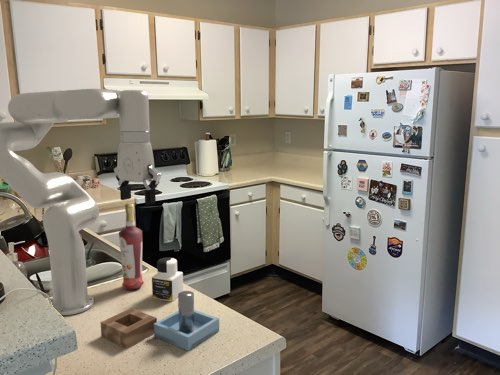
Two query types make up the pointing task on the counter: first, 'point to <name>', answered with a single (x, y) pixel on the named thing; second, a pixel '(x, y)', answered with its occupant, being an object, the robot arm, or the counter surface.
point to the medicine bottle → (167, 280)
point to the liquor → (131, 251)
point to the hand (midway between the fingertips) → (137, 201)
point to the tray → (170, 333)
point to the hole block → (128, 327)
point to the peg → (186, 311)
